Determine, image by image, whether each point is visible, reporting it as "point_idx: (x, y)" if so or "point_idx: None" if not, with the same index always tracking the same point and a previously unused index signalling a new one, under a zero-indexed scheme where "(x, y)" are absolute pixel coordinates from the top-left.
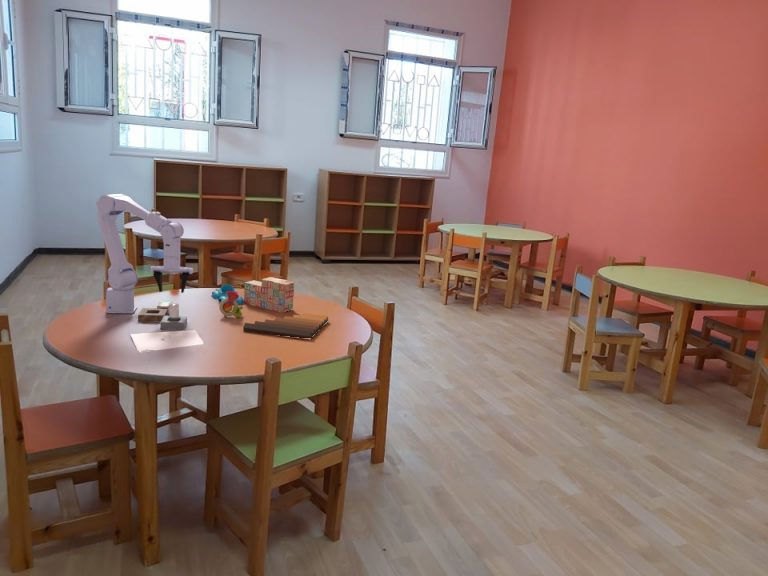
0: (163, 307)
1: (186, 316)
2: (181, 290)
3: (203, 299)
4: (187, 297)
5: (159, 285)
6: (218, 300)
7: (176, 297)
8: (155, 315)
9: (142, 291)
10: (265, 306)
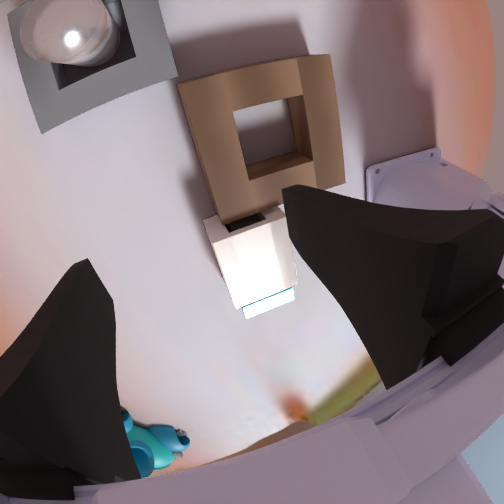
0: (250, 225)
1: (41, 128)
2: (77, 268)
3: (190, 411)
4: (245, 403)
5: (332, 200)
6: (128, 416)
7: (276, 389)
8: (234, 70)
9: (370, 371)
10: None
